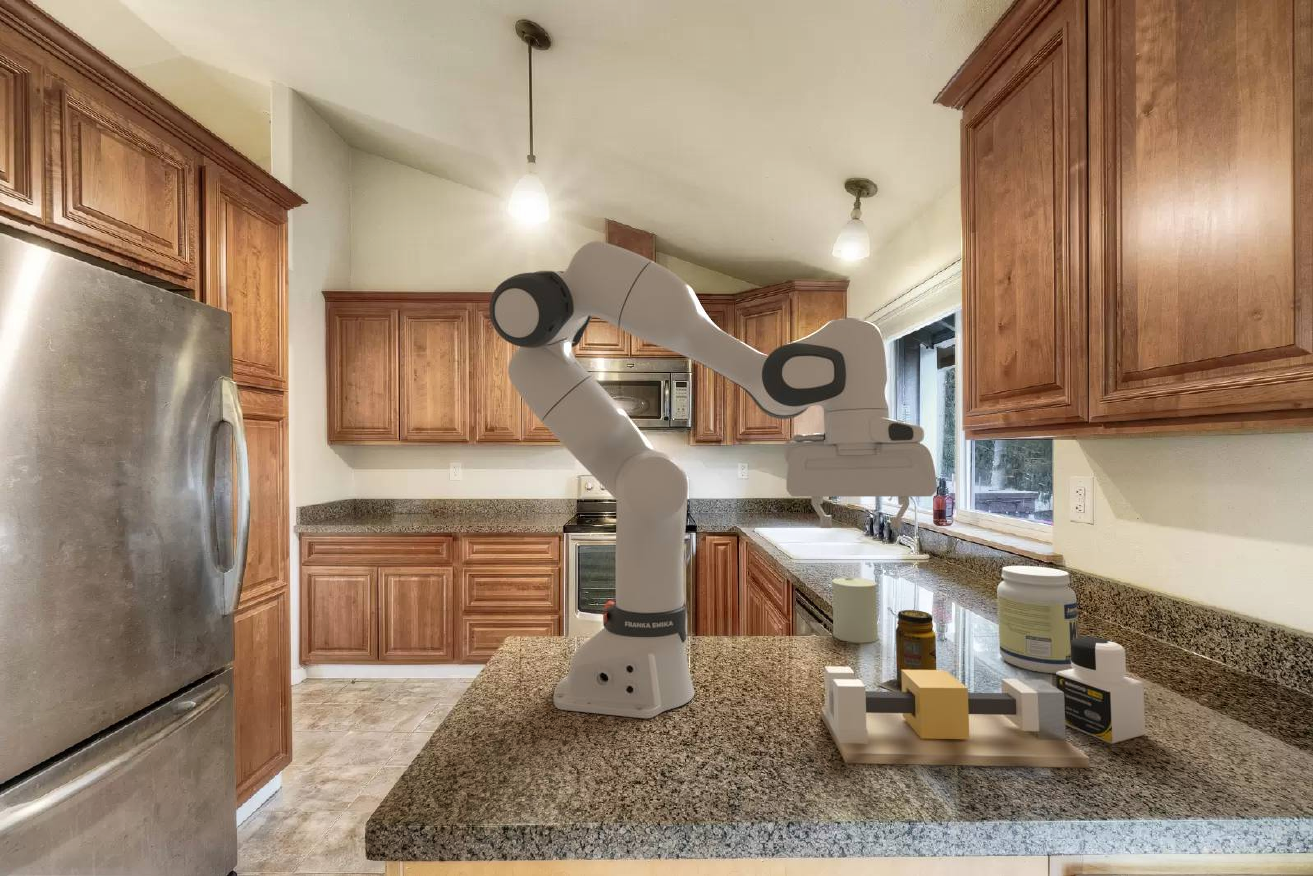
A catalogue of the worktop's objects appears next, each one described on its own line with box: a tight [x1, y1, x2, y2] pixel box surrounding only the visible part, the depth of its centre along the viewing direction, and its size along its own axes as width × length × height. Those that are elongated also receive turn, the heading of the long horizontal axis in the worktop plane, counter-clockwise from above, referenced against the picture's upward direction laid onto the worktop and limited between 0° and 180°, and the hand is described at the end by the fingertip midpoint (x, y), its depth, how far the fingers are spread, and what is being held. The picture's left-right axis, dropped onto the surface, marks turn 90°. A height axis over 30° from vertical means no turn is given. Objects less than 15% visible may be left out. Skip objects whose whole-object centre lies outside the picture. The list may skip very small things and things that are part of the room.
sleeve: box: [901, 669, 969, 739], centre depth 77 cm, size 6×6×6 cm
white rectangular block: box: [1000, 678, 1039, 731], centre depth 76 cm, size 2×5×5 cm, turn 177°
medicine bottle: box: [1055, 636, 1146, 745], centre depth 79 cm, size 7×7×12 cm
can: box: [831, 577, 880, 644], centre depth 122 cm, size 9×9×12 cm
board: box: [820, 707, 1091, 769], centre depth 76 cm, size 29×13×1 cm, turn 87°
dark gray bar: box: [833, 690, 1016, 715], centre depth 77 cm, size 26×2×2 cm, turn 87°
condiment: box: [877, 609, 937, 692], centre depth 94 cm, size 7×8×12 cm
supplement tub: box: [996, 565, 1079, 674], centre depth 105 cm, size 12×12×17 cm
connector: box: [1016, 678, 1067, 741], centre depth 76 cm, size 3×4×6 cm
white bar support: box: [824, 665, 868, 744], centre depth 77 cm, size 4×8×7 cm, turn 177°
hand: (860, 528), depth 82 cm, fingers open, 8 cm apart
